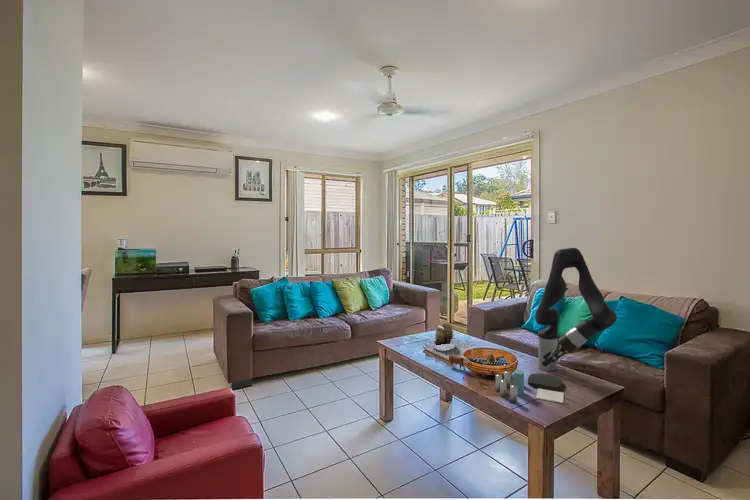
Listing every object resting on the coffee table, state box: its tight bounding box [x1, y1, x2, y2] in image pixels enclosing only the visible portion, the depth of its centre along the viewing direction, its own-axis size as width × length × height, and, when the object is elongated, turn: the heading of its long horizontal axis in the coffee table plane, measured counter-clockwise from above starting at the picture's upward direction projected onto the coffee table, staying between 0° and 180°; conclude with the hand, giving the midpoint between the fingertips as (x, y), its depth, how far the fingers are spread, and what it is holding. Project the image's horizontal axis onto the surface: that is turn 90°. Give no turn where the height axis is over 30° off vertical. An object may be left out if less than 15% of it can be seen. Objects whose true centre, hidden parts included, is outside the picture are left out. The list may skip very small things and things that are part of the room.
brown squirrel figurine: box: [433, 321, 454, 345], centre depth 243 cm, size 18×12×17 cm, turn 136°
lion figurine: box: [482, 353, 496, 378], centre depth 198 cm, size 15×5×9 cm, turn 148°
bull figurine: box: [448, 353, 470, 371], centre depth 204 cm, size 4×13×8 cm, turn 38°
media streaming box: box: [527, 372, 563, 392], centre depth 183 cm, size 15×15×3 cm
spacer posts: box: [495, 369, 523, 404], centre depth 175 cm, size 23×11×7 cm, turn 152°
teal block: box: [513, 369, 525, 397], centre depth 173 cm, size 4×4×10 cm
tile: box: [535, 388, 565, 404], centre depth 170 cm, size 11×11×1 cm
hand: (543, 361), depth 167 cm, fingers open, 8 cm apart
